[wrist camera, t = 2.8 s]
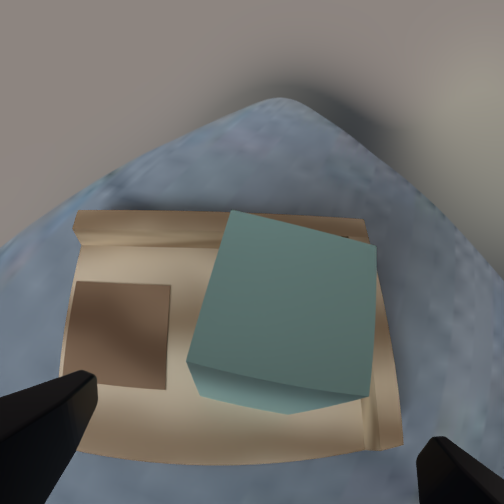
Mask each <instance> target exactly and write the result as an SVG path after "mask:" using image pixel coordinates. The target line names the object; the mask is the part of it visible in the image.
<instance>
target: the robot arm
mask: <svg viewBox="0 0 504 504" xmlns="http://www.w3.org/2000/svg"><path fill="white" fill-rule="evenodd" d="M97 403H98V386H97V377H96V375H94V374H93V373H90V372H88V371H85V370H78V371H75V372H72V373H70V374H67V375H64V376H61V377H59V378H56V379H53V380H50V381H47V382H44V383H41V384H39V385H36V386H33V387H30V388H27V389H24V390H21V391H18V392H15V393H12V394H9V395H6V396H3V397H0V504H45V502H46V500H47V499H48V497H49V495H50V494H51V492H52V490H53V489H54V487H55V485H56V483H57V482H58V480H59V478H60V477H61V475H62V473H63V472H64V470H65V468H66V467H67V465H68V464H69V462H70V460H71V459H72V457H73V455H74V453H75V452H76V450H77V448H78V446H79V444H80V441H81V439H82V437H83V435H84V432H85V430H86V428H87V426H88V424H89V421H90V419H91V417H92V415H93V413H94V411H95V409H96V406H97ZM416 467H417V477H418V489H419V502H420V504H504V479H502V478H501V477H499V476H498V475H497V474H495V473H494V472H493V471H491V470H490V469H488V468H487V467H486V466H484V465H483V464H482V463H480V462H479V461H477V460H476V459H475V458H473V457H472V456H471V455H469V454H468V453H467V452H465V451H464V450H463V449H461V448H460V447H458V446H457V445H456V444H454V443H453V442H452V441H450V440H449V439H448V438H446V437H444V436H438V437H432V438H431V439H430V440H429V441H428V443H427V444H426V445H425V447H424V448H423V450H422V451H421V452H420V453H419V455H418V457H417V460H416Z"/></svg>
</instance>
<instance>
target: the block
mask: <svg viewBox="0 0 504 504" xmlns="http://www.w3.org/2000/svg"><path fill="white" fill-rule="evenodd" d="M376 278H377V253H376V246H374V245H371V244H367V243H363V242H360V241H356V240H352V239H348V238H345V237H341V236H337V235H333V234H329V233H325V232H322V231H318V230H314V229H310V228H306V227H302V226H298V225H294V224H290V223H286V222H282V221H278V220H273V219H269V218H265V217H261V216H257V215H253V214H248V213H244V212H240V211H236V210H231V212H230V215H229V218H228V221H227V225H226V228H225V231H224V234H223V237H222V241H221V244H220V247H219V250H218V253H217V257H216V260H215V263H214V266H213V270H212V273H211V276H210V280H209V283H208V286H207V290H206V293H205V296H204V300H203V303H202V307H201V310H200V313H199V317H198V320H197V324H196V327H195V331H194V334H193V338H192V341H191V345H190V348H189V352H188V355H187V359H186V363H187V365H188V368H189V370H190V373H191V375H192V378H193V380H194V383H195V385H196V388H197V390H198V392H199V395H200V396H202V397H206V398H210V399H214V400H218V401H222V402H226V403H231V404H235V405H240V406H245V407H249V408H254V409H259V410H264V411H270V412H275V413H281V414H287V415H289V414H295V413H300V412H305V411H310V410H315V409H320V408H325V407H329V406H333V405H338V404H342V403H346V402H350V401H354V400H358V399H362V398H365V397H369V392H370V383H371V373H372V362H373V349H374V334H375V315H376Z"/></svg>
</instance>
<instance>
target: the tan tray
mask: <svg viewBox="0 0 504 504" xmlns="http://www.w3.org/2000/svg"><path fill="white" fill-rule="evenodd" d="M248 214H253V215H257V216H261V217H265V218H269V219H273V220H278V221H282V222H286V223H290V224H294V225H298V226H302V227H306V228H310V229H314V230H318V231H322V232H325V233H329V234H333V235H337V236H341V237H345V238H348V239H352V240H356V241H360V242H363V243H367V244H370V241H369V237H368V233H367V230H366V226H365V222H364V219H352V218H337V217H321V216H304V215H285V214H263V213H248ZM229 215H230V212H208V211H162V210H78V212H77V215H76V218H75V222H74V225H73V228H72V229H73V231H74V233H75V234H76V236H77V238H78V240H79V242H80V243H81V245H82V246H81V249H80V254H79V258H78V262H77V266H76V271H75V275H74V280H73V285H72V290H71V295H70V300H69V306H68V311H67V317H66V323H65V330H64V337H63V344H62V352H61V361H60V370H59V377H61V376H64V375H67V374H70V373H72V372H75V371H78V370H85V371H88V372H90V373H93V374H94V375H96V377H97V386H98V403H97V406H96V409H95V411H94V413H93V415H92V417H91V419H90V421H89V424H88V426H87V428H86V430H85V432H84V435H83V437H82V439H81V441H80V444H79V446H78V448H77V450H76V451H80V452H85V453H90V454H96V455H101V456H107V457H114V458H120V459H128V460H136V461H145V462H155V463H167V464H184V465H252V464H268V463H281V462H291V461H300V460H309V459H316V458H323V457H329V456H336V455H341V454H347V453H352V452H357V451H362V450H375V451H382V450H386V449H390V448H394V447H398V446H401V445H403V431H402V420H401V410H400V401H399V392H398V384H397V377H396V370H395V363H394V356H393V350H392V344H391V338H390V333H389V327H388V322H387V316H386V311H385V306H384V301H383V296H382V292H381V287H380V283H379V278H378V274H377V278H376V315H375V334H374V349H373V362H372V373H371V383H370V392H369V397H365V398H362V399H358V400H354V401H350V402H346V403H342V404H338V405H333V406H329V407H325V408H320V409H315V410H310V411H305V412H300V413H295V414H289V415H287V414H281V413H275V412H270V411H264V410H259V409H254V408H249V407H245V406H240V405H235V404H231V403H226V402H222V401H218V400H214V399H210V398H206V397H202V396H200V395H199V392H198V390H197V388H196V385H195V383H194V380H193V378H192V375H191V373H190V370H189V368H188V365H187V363H186V359H187V355H188V352H189V348H190V345H191V341H192V338H193V334H194V331H195V327H196V324H197V320H198V317H199V313H200V310H201V307H202V303H203V300H204V296H205V293H206V290H207V286H208V283H209V280H210V276H211V273H212V270H213V266H214V263H215V260H216V257H217V253H218V250H219V247H220V244H221V241H222V237H223V234H224V231H225V228H226V225H227V221H228V218H229Z"/></svg>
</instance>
